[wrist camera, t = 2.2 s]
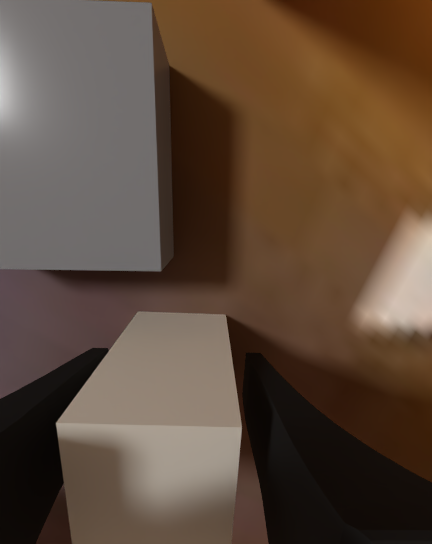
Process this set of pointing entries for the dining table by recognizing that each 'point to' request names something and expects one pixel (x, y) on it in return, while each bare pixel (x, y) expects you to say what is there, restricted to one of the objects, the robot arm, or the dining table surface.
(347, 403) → the dining table surface
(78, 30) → the grey square block
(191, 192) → the dining table surface
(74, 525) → the cream block
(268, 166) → the dining table surface
